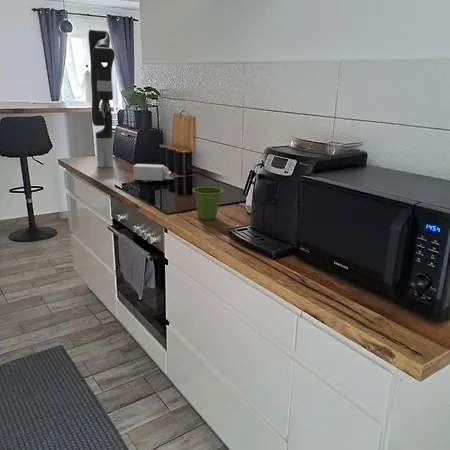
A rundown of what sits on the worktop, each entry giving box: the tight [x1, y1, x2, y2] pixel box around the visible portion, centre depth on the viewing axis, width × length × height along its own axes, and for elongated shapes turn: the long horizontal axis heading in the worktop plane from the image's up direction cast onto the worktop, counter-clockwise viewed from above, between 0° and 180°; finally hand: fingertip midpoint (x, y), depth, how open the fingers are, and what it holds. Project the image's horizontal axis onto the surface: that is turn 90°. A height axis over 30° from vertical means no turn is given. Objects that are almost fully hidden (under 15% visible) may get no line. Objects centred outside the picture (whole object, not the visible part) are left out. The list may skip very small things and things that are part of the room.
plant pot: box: [192, 186, 224, 221], centre depth 173 cm, size 12×12×11 cm
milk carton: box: [133, 163, 172, 182], centre depth 233 cm, size 7×7×19 cm
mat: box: [141, 175, 175, 183], centre depth 240 cm, size 15×17×1 cm
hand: (106, 124), depth 229 cm, fingers closed
